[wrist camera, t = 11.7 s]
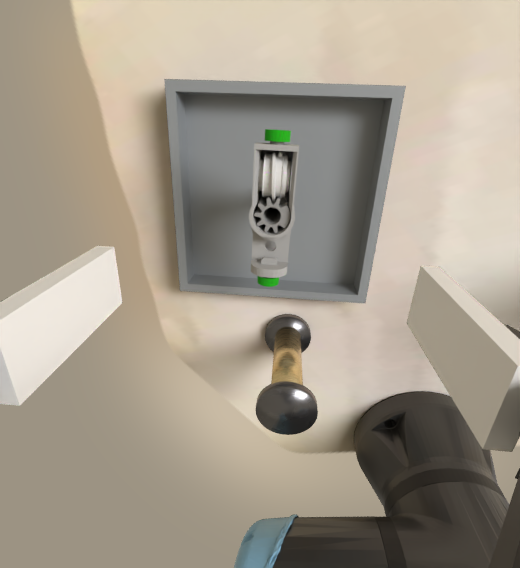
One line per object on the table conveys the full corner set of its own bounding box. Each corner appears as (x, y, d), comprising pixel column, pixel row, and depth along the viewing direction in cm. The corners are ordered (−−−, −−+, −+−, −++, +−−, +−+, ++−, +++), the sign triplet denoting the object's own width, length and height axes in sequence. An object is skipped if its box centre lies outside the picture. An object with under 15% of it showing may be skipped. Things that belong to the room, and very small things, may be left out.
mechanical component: (257, 242, 33) (246, 286, 24) (263, 127, 29) (252, 128, 20) (287, 244, 33) (288, 289, 24) (298, 129, 29) (303, 131, 20)
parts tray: (359, 289, 35) (365, 303, 32) (188, 278, 36) (180, 290, 33) (394, 90, 27) (405, 85, 25) (176, 83, 29) (164, 79, 26)
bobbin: (308, 353, 39) (314, 437, 28) (264, 350, 39) (255, 431, 29) (312, 315, 37) (320, 391, 26) (266, 312, 37) (256, 385, 27)
